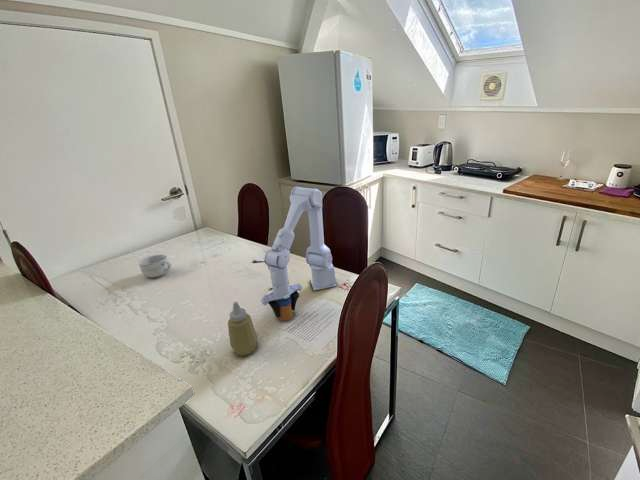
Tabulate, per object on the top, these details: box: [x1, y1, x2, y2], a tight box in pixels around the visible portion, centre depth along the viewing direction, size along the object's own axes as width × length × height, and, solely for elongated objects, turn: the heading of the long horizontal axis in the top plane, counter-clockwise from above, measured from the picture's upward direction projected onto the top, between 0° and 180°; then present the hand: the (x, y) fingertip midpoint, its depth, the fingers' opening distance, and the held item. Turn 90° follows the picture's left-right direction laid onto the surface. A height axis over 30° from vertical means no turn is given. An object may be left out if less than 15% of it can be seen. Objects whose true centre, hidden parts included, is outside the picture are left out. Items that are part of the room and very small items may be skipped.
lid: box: [276, 295, 292, 307], centre depth 112 cm, size 6×6×2 cm
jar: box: [278, 303, 294, 321], centre depth 113 cm, size 5×5×8 cm
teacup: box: [137, 254, 172, 279], centre depth 142 cm, size 14×11×8 cm
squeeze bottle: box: [227, 301, 258, 356], centre depth 96 cm, size 8×8×18 cm
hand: (285, 313), depth 114 cm, fingers closed on lid, 5 cm apart
